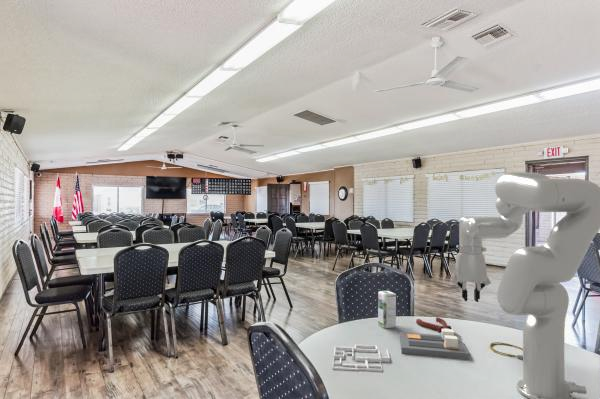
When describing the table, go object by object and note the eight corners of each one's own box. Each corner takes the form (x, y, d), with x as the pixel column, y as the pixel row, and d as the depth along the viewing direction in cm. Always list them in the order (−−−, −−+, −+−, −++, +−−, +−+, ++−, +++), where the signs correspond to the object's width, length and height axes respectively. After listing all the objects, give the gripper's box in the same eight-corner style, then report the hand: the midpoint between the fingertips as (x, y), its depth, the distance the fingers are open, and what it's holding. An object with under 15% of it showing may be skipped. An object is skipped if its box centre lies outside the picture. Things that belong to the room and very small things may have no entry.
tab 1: (452, 337, 134) (452, 329, 134) (454, 340, 131) (454, 332, 131) (441, 336, 135) (441, 328, 135) (442, 339, 132) (442, 331, 132)
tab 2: (456, 344, 127) (456, 336, 128) (457, 347, 125) (457, 339, 125) (444, 343, 128) (444, 335, 128) (445, 346, 125) (445, 338, 126)
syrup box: (377, 324, 156) (377, 291, 157) (389, 323, 158) (389, 290, 158) (384, 328, 151) (384, 294, 151) (396, 327, 153) (396, 293, 153)
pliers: (444, 341, 138) (444, 334, 138) (414, 324, 158) (414, 317, 158) (471, 339, 141) (471, 332, 141) (438, 322, 161) (438, 316, 161)
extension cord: (511, 364, 118) (511, 358, 118) (482, 345, 134) (482, 340, 134) (545, 362, 120) (545, 356, 120) (513, 344, 135) (513, 339, 135)
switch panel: (459, 342, 136) (459, 335, 136) (469, 359, 121) (469, 352, 121) (399, 336, 142) (399, 331, 142) (401, 353, 126) (401, 346, 126)
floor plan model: (383, 343, 136) (383, 338, 136) (393, 374, 111) (392, 368, 111) (334, 341, 139) (334, 336, 139) (332, 371, 114) (332, 365, 114)
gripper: (492, 249, 134) (492, 299, 133) (445, 248, 137) (445, 296, 137) (498, 252, 126) (498, 305, 126) (448, 251, 130) (448, 301, 130)
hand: (470, 300), depth 132 cm, fingers open, 3 cm apart
